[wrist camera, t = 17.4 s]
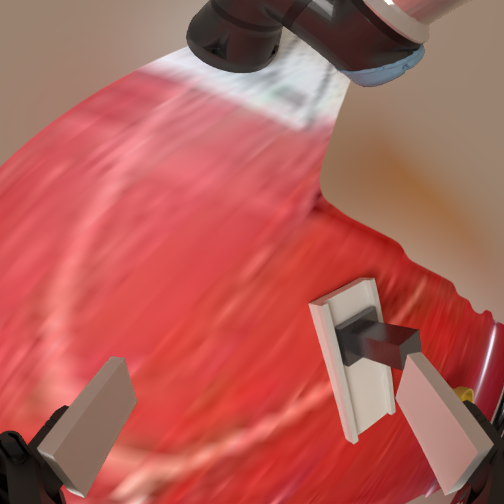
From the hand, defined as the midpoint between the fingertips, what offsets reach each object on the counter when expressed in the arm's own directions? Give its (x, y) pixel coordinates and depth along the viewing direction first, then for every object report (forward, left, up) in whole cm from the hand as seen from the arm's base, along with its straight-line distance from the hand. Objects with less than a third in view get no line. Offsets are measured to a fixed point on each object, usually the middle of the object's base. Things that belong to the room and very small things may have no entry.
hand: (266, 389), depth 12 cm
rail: (+18, +20, -23) cm, 35 cm away
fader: (+12, +20, -20) cm, 31 cm away
